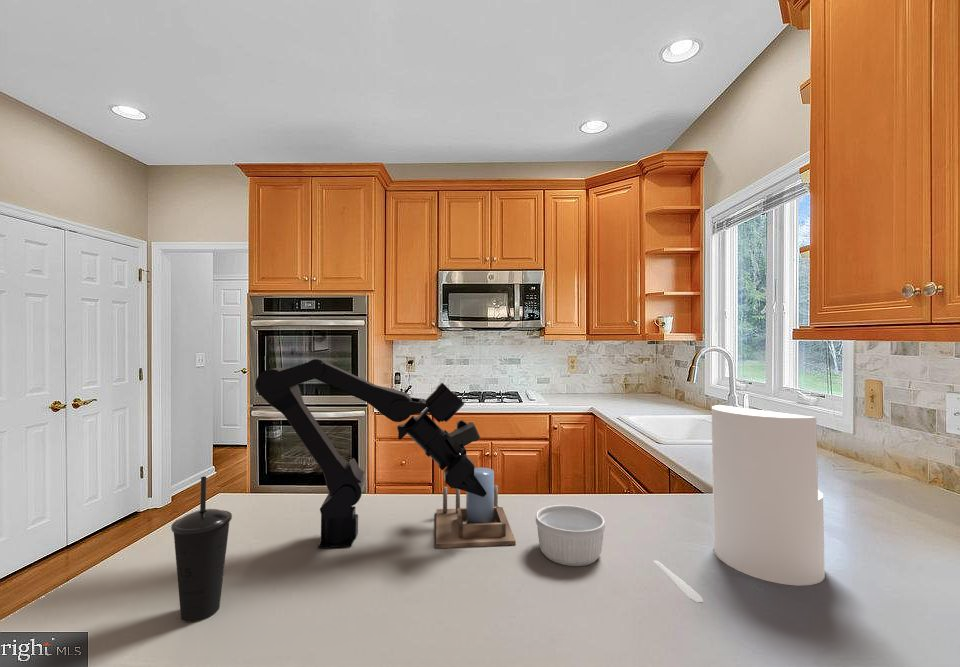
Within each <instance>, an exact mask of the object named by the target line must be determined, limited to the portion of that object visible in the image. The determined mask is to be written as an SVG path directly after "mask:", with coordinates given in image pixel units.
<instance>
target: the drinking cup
mask: <svg viewBox="0 0 960 667" xmlns="http://www.w3.org/2000/svg"><path fill="white" fill-rule="evenodd" d="M199 502H200V504H199V505H200V507H199V510H197V511H196V510H195V511H193V512H190V513H188V514H186V515H184V516H183V517H180V518H178V519H176V520H175V521H174V522H173V523H172V524H171V526H170V528H171V532H172V533H173V539H174V541H173V542H174V552H175V562H176V563H175V564H176V565H175V566H176V575H177V586H178V598H179V610H180V619H181V621H183V622H185V623H196V622H200V621H203V620H206V619H208V618H210V617H211V616H213V615H214V614H216V613H217V612H218V611H219V610H220V604H221V597H222V587H223V580H224V570H225V562H226V556H227V555H226V553H227V547H228V537H229V529H230V522H231V520H232V519H233V514H232V512H231V511H229V510H224V509H216V508H206V506H207V505H206V503H207V476H201V477H200V501H199Z"/></svg>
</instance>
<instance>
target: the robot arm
mask: <svg viewBox="0 0 960 667" xmlns="http://www.w3.org/2000/svg"><path fill="white" fill-rule="evenodd" d="M312 380H317V381H320V382H322V383H323V384H326V385H328V386H331V387H333V388H335V389H338V390H339V391H341V392H344V393H346V394H348V395H350V396H352V397H354V398H357V399H359V400H362V401H364V403H365V402H366V403H367V404H369V405H370V406H371V407H373V408H374V409H375V410H376V411H377V412H379V413H380V414H381V415H383V416H385V417H386V418H387V419H388V420H390V421H392V422H394V423H402V422H404V421H406V420H407V419H408V420H407V421H406V422H405V423H404V424H397V425H396V426H397V427H396V428H397V432H398V433H397V434H398V435H397V436H398V437H397V439H398V440H399V441H402V439H403V438H404V437H405V436H406V435H408V437H409V438H411V439H412V440H413V441H414V442H415V443H416V444H417V445H418V446H419V447H420V448H421V449H422V450H423V451H424V454H425V455H426V456H427V457H428V458H429V457H430V458H431V459H432V460H433V461H434V462H435V463H436V464H437V465H438V468H439V469H440V470H441V471H443V479H444V483H445V484H447V486H448V487H450V489H455V490H456V488H457V489H460V491H464V492H466V491H467V492H470V493H473V494H476V495H479V496H481V497H484V496H485V495H486V494H487V493H486V491H485V489H484V488H483V487H482V485H481V484H480V482H479V481H478V479H477V478H476V476H475V475H474V469H475V468H476V467H475V464H474V462H473V461H472V460H471V458H470V457H469V456H468V455H467V449H466V447H465V446H468V445H469V444H472V443H473V442H478V441H479V440H480V439H481V435H480V434H479V432H478V429H477V427H476V425H475V423H474V422H473V421H472V422H471V421H469V422H468V423H467V422H466V421H465V420H464V419H460V420H459V421H456V428H455V429H453V431H451V432H449V431H447V430H446V429H445V430H444V429H442V428H441V427H440V426H439V425H438V424H437V423H436V422H435V420H436V421H437V422H438V423H441V422H442V423H444V422H445V423H448V421H450V419H452V418H453V417H454V415H456V413H457V412H459V410H460V409H461V408H462V407H464V405H465V403H464V401H462V400H461V398H459V396H457V395H456V393H455V392H454V391H453V390H450V389H449V388H448V386H446V384H444V382H440V383H439V385H438V386H437V387H436V389H435V390H434V391H433V392H432V393H431V394H430V395H429V396H428V397H427V398H426V399H425V398H418V397H411V396H410V394H409V393H407V392H404V391H401V390H397V389H394V388H389V387H385V386H381V385H377V384H374V383H372V382H370V381H368V380H366V379H363V378H362V377H359V376H356V375H355V374H353V373H350V372H349V371H346V370H344V369H342V368H339V367H338V366H335V365H333V364H331V363H329V362H328V361H327V360H325V359H322V358H314V359H311V360H309V361H307V362H305V363H302V364H298V365H295V366H291V367H289V368H283V367H277V368H276V367H275V368H269V369H266V370H263V371H262V372H261V373H259V374H258V376H257V378H256V380H255V384H254V386H255V390H256V392H257V394H259V396H260V397H262V399H263V400H264V401H265V402H267V404H269V406H271V407H272V408H274V409H276V410H277V411H279V412H280V413H281V414H282V415H283V416H284V417H285V419H286V420H287V422H288V423H289V425H290V426H291V428H292V429H293V430H294V432H295V433H296V435H297V436H298V438H299V439H300V440H301V442H302V443H303V445H304V446H305V447H306V449H307V450H308V452H309V453H310V455H311V456H312V457H313V459H314V461H315V462H316V464H317V465H318V466H319V469H321V471H322V472H323V473H322V474H323V477H324V480H325V484H326V488H327V490H328V492H329V493H328V494H327V495H326V498H325V499H324V501H323V502H322V504H321V505H320V506H321V507H320V508H319V511H320V541H319V542H318V545H317V548H321V549H322V548H327V549H328V548H344V547H345V548H347V547H348V548H349V547H351V546H352V545H353V543H354V542H355V540H356V539H357V537H358V535H359V534H358V533H359V515H358V513H357V512H356V506H355V505H356V504H358V502H359V501H360V499H361V498H362V494H363V491H364V489H365V484H366V479H365V477H364V475H365V471H364V470H363V469H361V468H360V466H359V464H358V462H357V461H356V459H355V458H354V457H353V458H352V459H350V460H349V461H348V460H347V459H345V458H344V457H342V456H341V455H340V453H339V451H338V450H337V449H336V447H335V446H334V444H333V443H332V441H331V440H330V439H329V437H328V435H327V434H326V433H325V431H324V429H322V427H321V426H320V424H319V422H318V421H317V420H316V419H315V417H314V415H313V414H312V412H311V411H310V409H309V408H308V406H307V405H306V404H305V402H304V399H303V395H302V393H301V389H300V386H299V384H302V383H305V382H309V381H312ZM418 414H419V415H418ZM428 414H430V416H431V417H433V418H434V419H435V420H433V419H432V418H431V417H430V416H429V415H428ZM414 415H417V417H416V416H414Z"/></svg>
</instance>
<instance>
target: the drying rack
mask: <svg viewBox="0 0 960 667" xmlns="http://www.w3.org/2000/svg"><path fill="white" fill-rule="evenodd" d="M498 498H499V486H498V485H497V484H496V485H495V484H494V523H475V524H466V507H461V490H460V489H457V488H456V489H455V508H448V486H443V487H442V508H438V509H436V516H435V517H436V518H435V519H436V523H435V524H436V526H435V548H436V549H445V548H447V549H449V548H450V549H451V548H452V549H453V548H471V547H472V548H473V547H495V546H496V547H497V546H516V545H517V544H516V542H517V541H516V538H515V536H514V532H513V531H512V528H511V525H510V523H509V520H508V518H507V515H506V513H505V510H504V508H503V507H502V506H499V504H498V503H499V502H498V500H499V499H498Z"/></svg>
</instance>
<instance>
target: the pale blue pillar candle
mask: <svg viewBox="0 0 960 667" xmlns="http://www.w3.org/2000/svg"><path fill="white" fill-rule="evenodd" d="M474 475H475V476H476V478H477V479H478V481H479V482H480V484H481V485H482V487H483V488H484V489H485V491H486V493H487V494H486V495H485V496H484V497H481V496H479V495H476V494H473V493H470V492H467V491H465V492H466V494H465V498H466V499H465V500H466V501H465V502H466V504H465V505H466V507H465V508H466V524H475V523H494V485H495V471H494V469H492V468H489V467H475V469H474Z"/></svg>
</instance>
